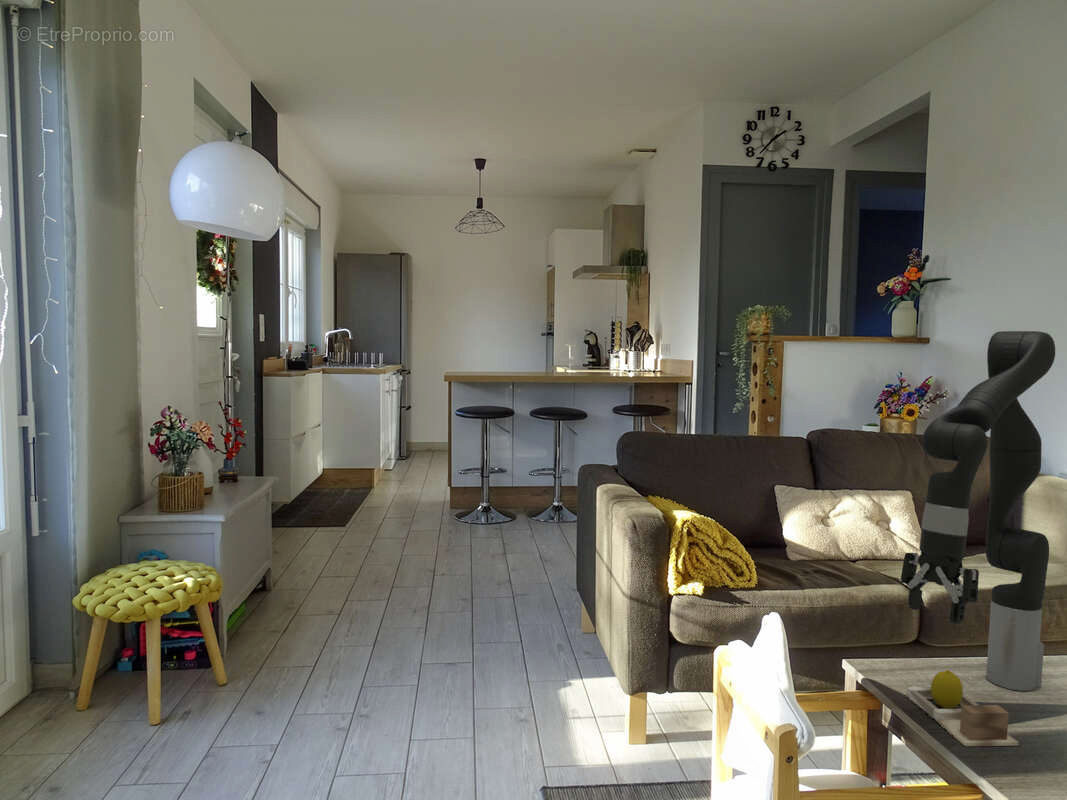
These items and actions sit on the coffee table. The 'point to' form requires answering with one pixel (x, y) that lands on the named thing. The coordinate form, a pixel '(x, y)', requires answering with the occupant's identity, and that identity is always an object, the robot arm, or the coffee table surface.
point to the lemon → (946, 689)
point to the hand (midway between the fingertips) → (934, 615)
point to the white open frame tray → (967, 720)
